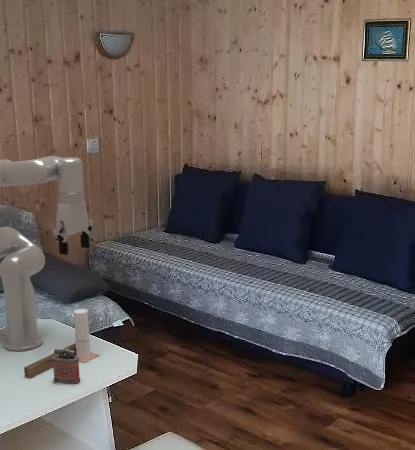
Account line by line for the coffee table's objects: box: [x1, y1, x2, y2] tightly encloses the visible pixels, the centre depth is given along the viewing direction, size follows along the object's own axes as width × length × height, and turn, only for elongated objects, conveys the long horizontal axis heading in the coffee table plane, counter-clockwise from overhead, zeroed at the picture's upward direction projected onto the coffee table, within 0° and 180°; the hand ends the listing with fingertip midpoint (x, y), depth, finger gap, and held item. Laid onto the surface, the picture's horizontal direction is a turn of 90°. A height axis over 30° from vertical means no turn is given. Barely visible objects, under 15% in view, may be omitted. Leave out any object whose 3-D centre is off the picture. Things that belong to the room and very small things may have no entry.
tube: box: [73, 308, 91, 359], centre depth 214 cm, size 4×4×15 cm
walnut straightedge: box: [23, 342, 76, 379], centre depth 210 cm, size 2×24×3 cm, turn 148°
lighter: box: [52, 347, 81, 385], centre depth 197 cm, size 8×3×10 cm, turn 78°
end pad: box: [79, 351, 100, 364], centre depth 215 cm, size 6×7×1 cm
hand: (74, 250), depth 214 cm, fingers open, 9 cm apart
